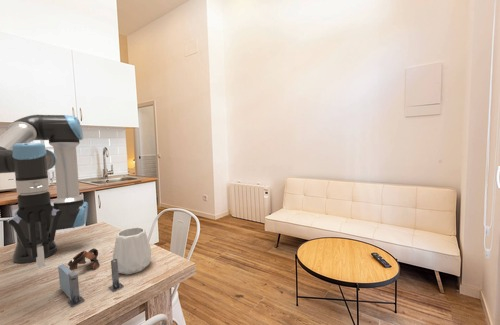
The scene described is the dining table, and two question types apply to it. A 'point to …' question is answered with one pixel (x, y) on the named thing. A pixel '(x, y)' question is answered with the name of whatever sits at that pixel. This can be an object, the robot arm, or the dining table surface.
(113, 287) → the post
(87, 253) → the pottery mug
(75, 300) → the hinge post
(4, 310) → the dining table surface
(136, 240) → the vase
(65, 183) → the robot arm
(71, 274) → the gate
